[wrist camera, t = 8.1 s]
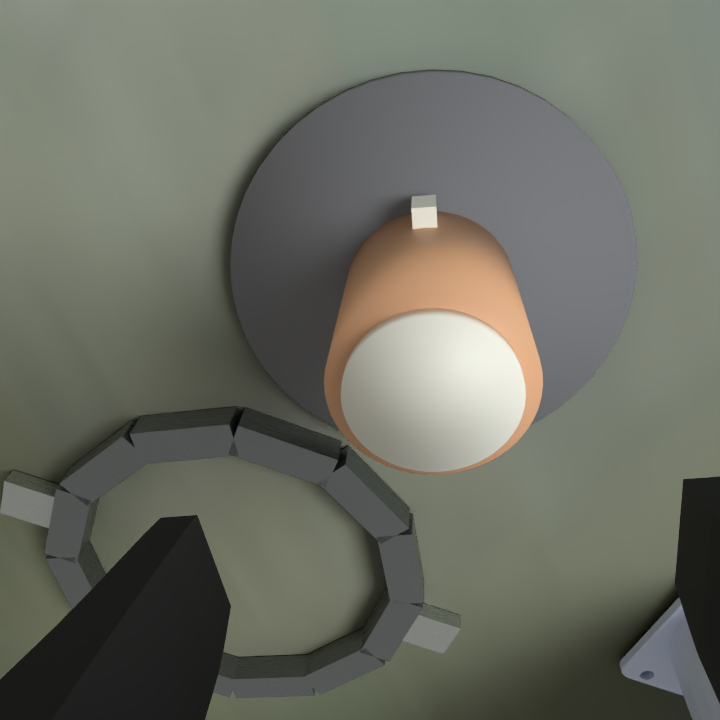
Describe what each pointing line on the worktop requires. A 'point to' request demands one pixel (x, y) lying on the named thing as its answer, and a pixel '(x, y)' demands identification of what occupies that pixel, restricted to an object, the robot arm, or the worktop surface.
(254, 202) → the mat
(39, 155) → the worktop surface
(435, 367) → the pill bottle
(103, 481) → the collar
